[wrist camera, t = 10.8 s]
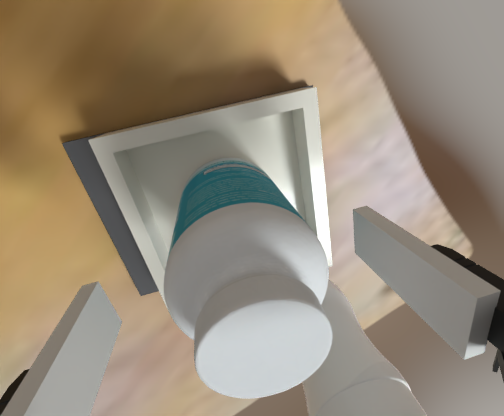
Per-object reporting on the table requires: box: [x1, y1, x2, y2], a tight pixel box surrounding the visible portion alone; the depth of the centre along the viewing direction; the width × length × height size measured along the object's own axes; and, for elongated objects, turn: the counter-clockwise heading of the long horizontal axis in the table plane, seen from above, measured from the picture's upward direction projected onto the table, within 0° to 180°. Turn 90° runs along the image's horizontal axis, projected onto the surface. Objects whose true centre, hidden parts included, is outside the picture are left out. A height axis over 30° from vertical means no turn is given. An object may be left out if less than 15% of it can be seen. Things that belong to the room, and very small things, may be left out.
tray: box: [88, 87, 332, 309], centre depth 20 cm, size 14×14×3 cm
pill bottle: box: [164, 158, 332, 399], centre depth 14 cm, size 8×7×14 cm
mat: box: [62, 85, 313, 296], centre depth 21 cm, size 18×14×1 cm
